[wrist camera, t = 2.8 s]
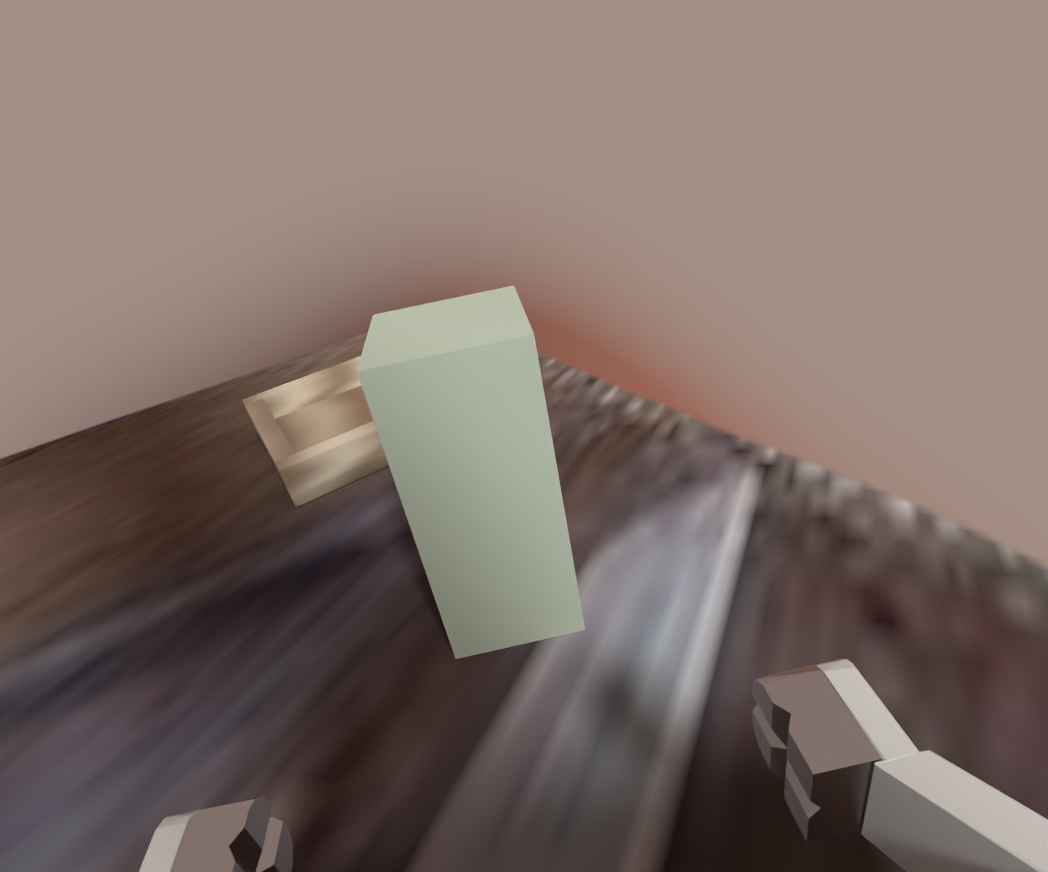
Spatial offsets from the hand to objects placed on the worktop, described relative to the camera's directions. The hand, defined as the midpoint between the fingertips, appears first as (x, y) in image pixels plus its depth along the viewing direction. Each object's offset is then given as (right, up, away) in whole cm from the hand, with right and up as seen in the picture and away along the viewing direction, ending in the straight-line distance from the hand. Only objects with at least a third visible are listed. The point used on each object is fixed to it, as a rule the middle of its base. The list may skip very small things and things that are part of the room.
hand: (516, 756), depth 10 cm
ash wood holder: (-11, +6, +31) cm, 33 cm away
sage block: (0, -1, +15) cm, 15 cm away
